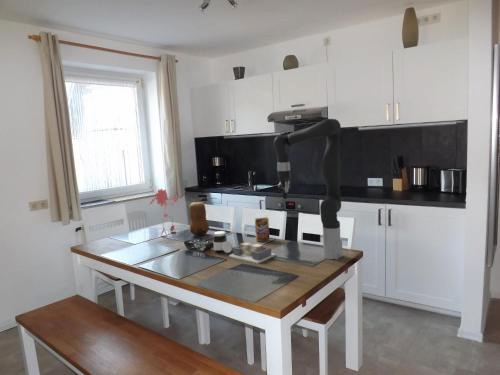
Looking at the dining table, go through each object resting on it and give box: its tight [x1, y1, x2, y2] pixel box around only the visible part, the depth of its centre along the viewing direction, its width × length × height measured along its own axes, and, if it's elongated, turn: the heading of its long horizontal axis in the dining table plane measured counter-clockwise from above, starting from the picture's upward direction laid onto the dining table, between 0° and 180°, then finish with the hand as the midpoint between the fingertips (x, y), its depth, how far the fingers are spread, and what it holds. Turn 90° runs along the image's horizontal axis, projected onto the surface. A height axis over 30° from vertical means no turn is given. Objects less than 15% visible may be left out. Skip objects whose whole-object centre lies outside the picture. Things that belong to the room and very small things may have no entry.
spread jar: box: [212, 230, 233, 254], centre depth 219 cm, size 12×11×12 cm
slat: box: [239, 241, 264, 256], centre depth 206 cm, size 14×4×6 cm, turn 52°
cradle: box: [228, 244, 276, 265], centre depth 207 cm, size 22×16×5 cm
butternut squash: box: [188, 201, 210, 237], centre depth 259 cm, size 14×13×25 cm
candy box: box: [254, 216, 270, 242], centre depth 236 cm, size 9×4×15 cm, turn 98°
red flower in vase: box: [148, 188, 179, 236], centre depth 270 cm, size 15×26×35 cm, turn 147°
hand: (285, 198), depth 212 cm, fingers closed
